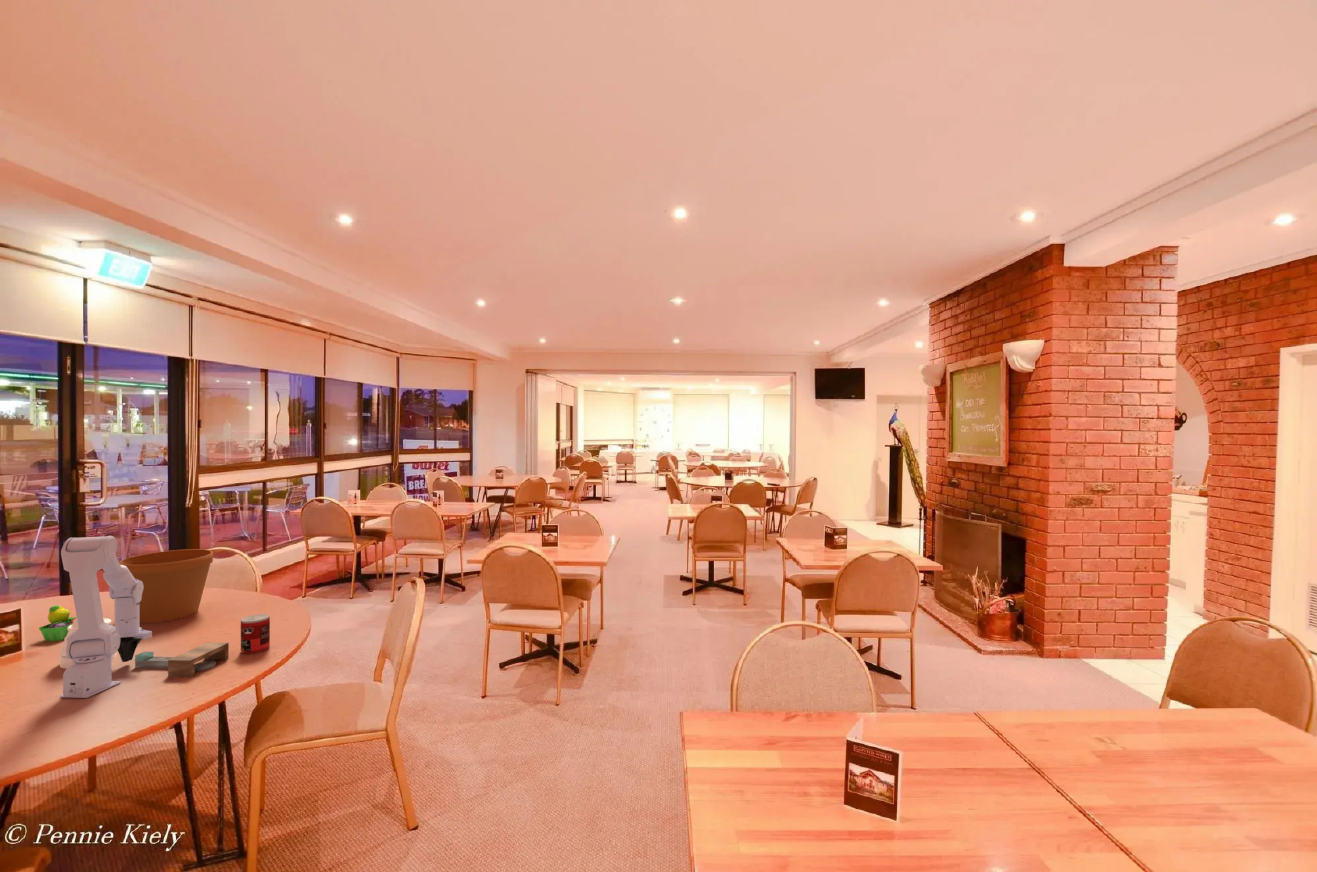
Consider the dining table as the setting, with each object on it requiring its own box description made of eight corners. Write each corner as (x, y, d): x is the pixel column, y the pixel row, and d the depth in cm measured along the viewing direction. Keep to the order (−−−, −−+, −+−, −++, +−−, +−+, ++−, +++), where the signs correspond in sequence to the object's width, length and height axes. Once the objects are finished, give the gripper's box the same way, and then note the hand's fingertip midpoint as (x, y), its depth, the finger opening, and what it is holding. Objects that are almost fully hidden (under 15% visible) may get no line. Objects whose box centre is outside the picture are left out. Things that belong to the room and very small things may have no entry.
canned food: (238, 649, 188) (238, 617, 187) (267, 643, 193) (267, 612, 193) (242, 656, 182) (242, 623, 182) (271, 649, 188) (271, 617, 188)
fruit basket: (59, 642, 194) (58, 610, 193) (33, 642, 193) (33, 610, 193) (92, 630, 205) (92, 600, 205) (68, 630, 205) (68, 600, 205)
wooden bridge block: (190, 676, 167) (190, 660, 167) (168, 676, 167) (168, 659, 167) (228, 657, 181) (228, 642, 181) (207, 657, 181) (207, 642, 181)
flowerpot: (115, 632, 203) (114, 568, 203) (124, 613, 224) (124, 555, 224) (213, 616, 220) (212, 557, 220) (212, 599, 242) (212, 546, 242)
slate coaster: (204, 672, 171) (204, 668, 171) (187, 671, 171) (187, 667, 171) (220, 664, 177) (220, 660, 177) (203, 664, 177) (203, 660, 177)
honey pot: (122, 657, 181) (122, 602, 181) (66, 672, 170) (66, 613, 170) (109, 649, 188) (108, 596, 187) (54, 662, 177) (53, 606, 176)
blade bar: (181, 669, 173) (181, 656, 173) (135, 668, 173) (135, 655, 173) (190, 665, 176) (190, 652, 176) (144, 664, 176) (144, 651, 176)
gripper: (161, 614, 179) (161, 655, 179) (118, 613, 179) (118, 654, 179) (139, 621, 172) (139, 665, 172) (95, 620, 172) (95, 664, 172)
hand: (127, 660), depth 175 cm, fingers closed
